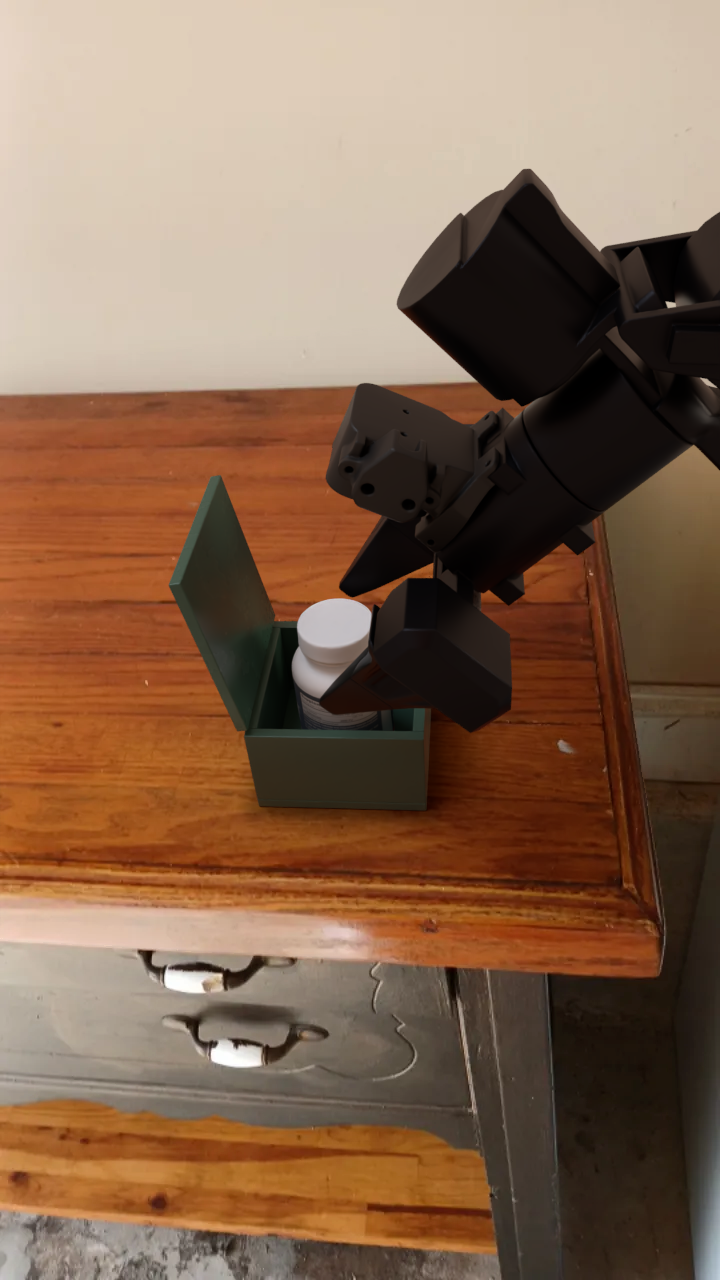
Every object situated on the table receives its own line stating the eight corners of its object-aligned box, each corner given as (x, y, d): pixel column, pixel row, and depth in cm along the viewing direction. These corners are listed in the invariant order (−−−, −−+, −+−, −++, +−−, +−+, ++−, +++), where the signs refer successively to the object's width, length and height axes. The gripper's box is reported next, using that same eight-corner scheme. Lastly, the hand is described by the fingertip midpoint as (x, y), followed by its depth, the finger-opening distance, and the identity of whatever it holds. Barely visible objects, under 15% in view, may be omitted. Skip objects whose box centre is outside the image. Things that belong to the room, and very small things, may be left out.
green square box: (432, 691, 58) (430, 621, 55) (426, 811, 51) (423, 739, 48) (283, 689, 59) (271, 620, 56) (258, 806, 52) (243, 736, 49)
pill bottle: (329, 697, 58) (314, 580, 52) (409, 719, 56) (402, 601, 50) (287, 758, 54) (266, 640, 48) (371, 784, 52) (359, 665, 46)
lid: (220, 474, 49) (210, 476, 49) (179, 583, 42) (167, 585, 43) (275, 615, 55) (266, 616, 55) (247, 731, 48) (236, 732, 49)
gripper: (439, 255, 46) (245, 460, 54) (425, 455, 32) (167, 689, 40) (591, 403, 50) (390, 571, 58) (638, 637, 36) (364, 814, 44)
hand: (336, 645), depth 50 cm, fingers open, 9 cm apart
